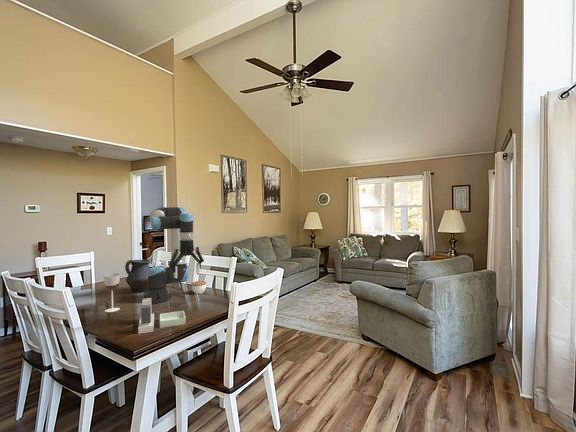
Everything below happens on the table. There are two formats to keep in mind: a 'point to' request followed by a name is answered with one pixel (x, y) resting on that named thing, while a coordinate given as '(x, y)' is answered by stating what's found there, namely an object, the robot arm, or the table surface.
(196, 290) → the white round bowl
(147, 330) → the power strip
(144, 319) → the black charger
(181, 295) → the table surface
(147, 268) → the pitcher
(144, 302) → the white charger
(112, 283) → the wineglass
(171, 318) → the tray
